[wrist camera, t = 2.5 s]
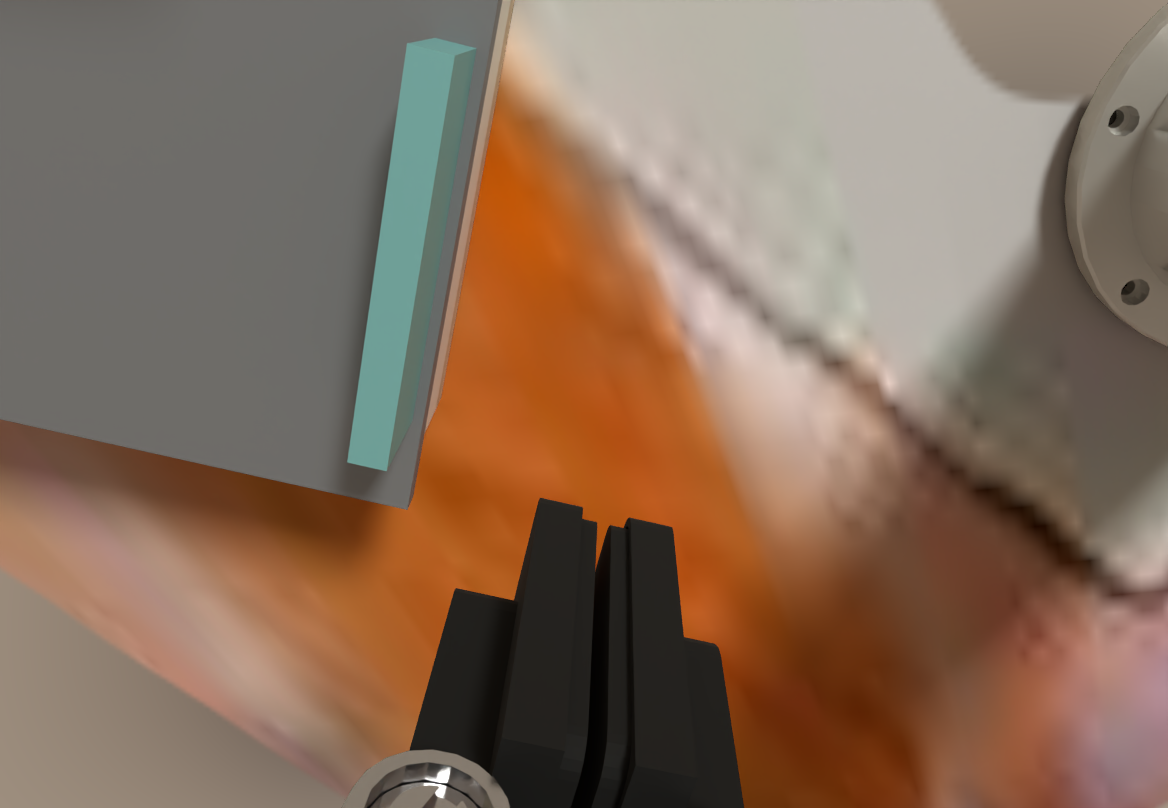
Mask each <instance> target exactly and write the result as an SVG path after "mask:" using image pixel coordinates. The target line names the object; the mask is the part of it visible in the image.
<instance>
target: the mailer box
mask: <svg viewBox="0 0 1168 808" xmlns="http://www.w3.org/2000/svg"><path fill="white" fill-rule="evenodd" d="M514 1H515V0H502V6H501V11H500V17H499V22H498V28H497V33H496V39H495V44H494V50H493V56H492V61H491V67H490V72H489V78H488V83H487V89H486V94H485V100H484V106H483V111H482V117H481V122H480V128H479V133H478V139H477V144H476V150H475V155H474V161H473V167H472V172H471V178H470V183H469V189H468V194H467V200H466V205H465V211H464V217H463V222H462V228H461V233H460V239H459V244H458V250H457V255H456V261H455V267H454V272H453V278H452V283H451V289H450V294H449V300H448V305H447V311H446V317H445V322H444V328H443V333H442V339H441V344H440V350H439V355H438V361H437V366H436V372H435V378H434V383H433V389H432V394H431V400H430V405H429V411H428V416H427V422H426V428H425V431H426V429H427V427H428V425H429V423H430V421H431V418H432V416H433V414H434V412H435V410H436V408H437V405H438V403H439V401H440V399H441V395H442V390H443V384H444V379H445V374H446V368H447V363H448V357H449V352H450V347H451V341H452V336H453V330H454V325H455V320H456V314H457V309H458V303H459V298H460V293H461V287H462V282H463V276H464V271H465V265H466V260H467V255H468V249H469V244H470V238H471V233H472V228H473V222H474V217H475V211H476V206H477V201H478V195H479V190H480V184H481V179H482V174H483V168H484V163H485V157H486V152H487V147H488V141H489V136H490V130H491V125H492V120H493V114H494V109H495V103H496V98H497V93H498V87H499V82H500V76H501V71H502V66H503V60H504V55H505V49H506V44H507V39H508V33H509V28H510V22H511V17H512V12H513V6H514Z"/></svg>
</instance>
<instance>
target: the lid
mask: <svg viewBox="0 0 1168 808" xmlns="http://www.w3.org/2000/svg"><path fill="white" fill-rule="evenodd" d="M501 6H502V0H0V419H1V420H6V421H10V422H15V423H19V424H24V425H28V426H33V427H37V428H42V429H46V430H51V431H55V432H60V433H64V434H69V435H73V436H78V437H82V438H87V439H91V440H96V441H100V442H105V443H109V444H114V445H118V446H123V447H127V448H132V449H136V450H141V451H145V452H150V453H154V454H159V455H163V456H168V457H172V458H177V459H181V460H186V461H190V462H195V463H199V464H204V465H208V466H213V467H217V468H222V469H226V470H231V471H235V472H240V473H244V474H249V475H253V476H258V477H262V478H267V479H271V480H276V481H280V482H285V483H289V484H294V485H298V486H303V487H307V488H312V489H316V490H321V491H325V492H330V493H334V494H339V495H343V496H348V497H352V498H357V499H361V500H366V501H370V502H375V503H379V504H384V505H388V506H393V507H397V508H402V509H406V510H407V509H408V507H409V505H410V502H411V500H412V498H413V494H414V489H415V483H416V478H417V472H418V466H419V461H420V455H421V450H422V444H423V439H424V433H425V428H426V422H427V416H428V411H429V405H430V400H431V394H432V389H433V383H434V378H435V372H436V366H437V361H438V355H439V350H440V344H441V339H442V333H443V328H444V322H445V317H446V311H447V305H448V300H449V294H450V289H451V283H452V278H453V272H454V267H455V261H456V255H457V250H458V244H459V239H460V233H461V228H462V222H463V217H464V211H465V205H466V200H467V194H468V189H469V183H470V178H471V172H472V167H473V161H474V155H475V150H476V144H477V139H478V133H479V128H480V122H481V117H482V111H483V106H484V100H485V94H486V89H487V83H488V78H489V72H490V67H491V61H492V56H493V50H494V44H495V39H496V33H497V28H498V22H499V17H500V11H501Z"/></svg>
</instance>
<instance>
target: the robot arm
mask: <svg viewBox="0 0 1168 808" xmlns="http://www.w3.org/2000/svg"><path fill="white" fill-rule="evenodd" d="M1115 110H1116V113H1117V118H1116V120H1115V121H1114V123H1113V124H1111V125H1109V126H1108V124H1109V119H1110V116H1111V115H1112V114H1113V112H1114V111H1115ZM1065 210H1066V220H1067V231H1068V237H1069V240H1070V243H1071V246H1072V249H1073V252H1074V256H1075V259H1076V262H1077V265H1078V268H1079V269H1080V271H1081V273H1082V274H1083V276H1084V278H1085V279H1086V281H1087V282H1088V284H1089V286H1090V287H1091V289H1092V291H1093V292H1094V294H1095V295H1096V296H1097V297H1098V298H1099V299H1100V300H1101V301H1102V302H1103V303H1104V304H1105V305H1106V306H1107V308H1108V309H1109V310H1110V311H1111V312H1112V313H1113V314H1114V315H1115V316H1116V317H1117V318H1119V319H1120V320H1122V321H1124V322H1125V323H1127V324H1128V325H1130V326H1131V327H1132V328H1134V329H1135V330H1137V331H1138V332H1140V333H1141V334H1142V335H1144V336H1146V337H1148V338H1151V339H1153V340H1155V341H1157V342H1159V343H1161V344H1163V345H1165V346H1167V347H1168V3H1167V4H1166V5H1165V6H1163V7H1162V8H1161V9H1160V10H1159V11H1158V12H1157V13H1156V14H1155V15H1154V16H1153V17H1152V18H1151V19H1150V20H1149V21H1148V22H1147V23H1146V24H1145V25H1144V26H1143V28H1141V29H1140V31H1139V32H1138V33H1137V34H1136V35H1135V36H1134V37H1133V38H1132V39H1131V40H1130V41H1129V42H1128V43H1127V44H1126V46H1125V47H1124V48H1123V50H1122V51H1121V53H1120V54H1119V56H1118V57H1117V58H1116V60H1115V61H1114V63H1113V64H1112V66H1111V67H1110V68H1109V70H1108V71H1107V73H1106V74H1105V75H1104V77H1103V78H1102V80H1101V81H1100V83H1099V85H1098V87H1097V89H1096V91H1095V93H1094V95H1093V97H1092V99H1091V101H1090V103H1089V105H1088V107H1087V109H1086V111H1085V113H1084V115H1083V117H1082V119H1081V121H1080V125H1079V128H1078V131H1077V135H1076V138H1075V141H1074V145H1073V148H1072V151H1071V155H1070V158H1069V163H1068V172H1067V181H1066V190H1065ZM1126 283H1128V285H1127V286H1126V288H1125V289H1123V290H1122V288H1123V287H1124V286H1125V285H1126ZM582 514H583V508H582V507H579V506H575V505H570V504H566V503H561V502H557V501H552V500H548V499H543V498H540V499H539V502H538V506H537V509H536V513H535V517H534V522H533V526H532V530H531V534H530V538H529V542H528V546H527V550H526V554H525V558H524V562H523V566H522V570H521V574H520V578H519V582H518V586H517V590H516V595H515V599H514V601H513V600H508V599H504V598H499V597H494V596H490V595H485V594H481V593H476V592H471V591H467V590H462V589H457V588H456V589H455V591H454V594H453V598H452V601H451V605H450V608H449V612H448V615H447V619H446V622H445V626H444V629H443V633H442V637H441V640H440V644H439V647H438V651H437V654H436V658H435V661H434V665H433V669H432V672H431V676H430V679H429V683H428V686H427V690H426V693H425V697H424V701H423V704H422V708H421V711H420V715H419V718H418V722H417V725H416V729H415V733H414V736H413V740H412V743H411V747H410V750H409V751H406V752H403V753H400V754H397V755H393V756H390V757H387V758H385V759H383V760H382V761H380V762H379V763H377V764H376V765H374V766H373V767H371V768H370V769H368V770H367V771H366V772H365V773H364V774H363V776H362V777H361V778H360V779H359V781H358V782H357V783H356V784H355V786H354V787H353V788H352V790H351V792H350V793H349V795H348V797H347V799H346V801H345V803H344V804H343V806H342V808H744V804H743V798H742V791H741V785H740V778H739V772H738V765H737V759H736V752H735V745H734V739H733V732H732V726H731V719H730V713H729V706H728V700H727V693H726V687H725V680H724V674H723V667H722V660H721V655H720V651H719V648H718V647H717V646H716V645H715V644H713V643H708V642H704V641H699V640H694V639H690V638H685V637H684V635H683V625H682V615H681V605H680V595H679V585H678V575H677V565H676V555H675V545H674V534H673V529H672V527H669V526H665V525H660V524H656V523H651V522H647V521H642V520H638V519H633V518H628V519H627V521H626V523H625V526H624V528H620V527H616V526H611V525H610V526H609V528H608V530H607V533H606V536H605V539H604V543H603V546H602V550H601V553H600V557H599V560H598V564H597V567H596V571H595V563H596V540H597V522H593V521H589V520H584V519H582Z"/></svg>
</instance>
